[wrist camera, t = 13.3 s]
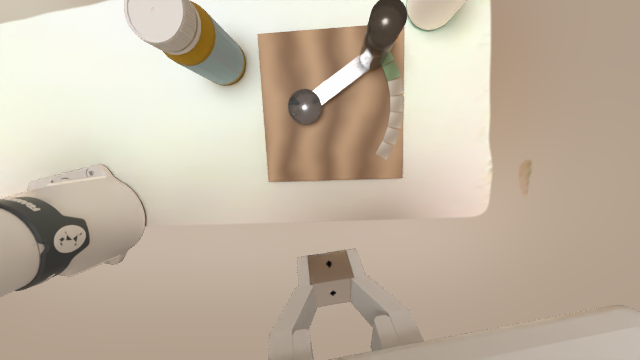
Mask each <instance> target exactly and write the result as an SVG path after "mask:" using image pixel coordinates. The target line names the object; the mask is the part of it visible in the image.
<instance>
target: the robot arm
mask: <svg viewBox="0 0 640 360" xmlns="http://www.w3.org/2000/svg"><path fill="white" fill-rule="evenodd" d="M144 228H145V213H144V209H143V206H142V204H141V202H140V200H139V198H138V197H137V195H136V194H135V193H134V192H133V190H132V189H130V188H129V187H128V186H127V185H126V184H124V183H123V182H121V181H119V180H118V179H116V178H115V177H114V176H113V175H112V174H111V172H110V171H109V170H108V169H107V168H106V167H105V166H104V165H94V166H90V167H86V168H82V169H79V170H75V171H71V172H67V173H63V174H59V175H55V176H52V177H48V178H44V179H40V180H36V181H33V182H31V183H30V184H29V186H28V189H27V191H26V192H22V193H19V194H15V195H11V196H8V197H5V198H4V199H0V297H2V296H4V295H6V294H8V293H11V292H13V291H20V290H24V289H27V288H29V287H31V286H35V285H38V284H40V283H43V282H45V281H47V280H48V279H50V278H51V277H54V276H56V275H61V276H68V277H70V276H74V275H77V274H79V273H81V272H84V271H86V270H88V269H90V268H93V267H95V266H98V265H100V264H102V263H107V264H112V265H114V264H117V263H120V262H121V261H122V260H123V259H124V257H125V255H126V253H127V251H128V250H129V249H130V248H131V247H133V246H134V245H135V244H136V243H137V242H138V241H139V240H140V238H141V236H142V234H143V231H144ZM297 269H298V270H297V271H298V287H297V288H295V290H294V291H293V293H292V295H291V297H290V299H289V300H288V302H287V304H286V306H285V308H284V310H283V311H282V313H281V315H280V316H279V318H278V320H277V322H276V323H275V325H274V327H273V329H272V331H271V332H270V335H269V354H268V360H314V357H313V352H312V345H311V340H310V334H309V331H308V330H309V327H310V325H311V322H312V320H313V317H314V315H315V312H316V309H317V307H322V306H327V305H332V304H338V303H345V302H351V303H352V304H353V306H354V307H355V308H356V309H357V310H358V311H359V312H360V314H361V315H362V316H363V317H364V318H365V319H366V320H367V322H368V323H369V324H370V325H371V326H372V327H373V332H372V341H371V350H372V351H371V352H366V353H361V354H355V355H350V356H345V357H340V358H334V359H329V360H640V311H638V310H636V309H633V308H630V307H628V306H624V305H611V306H606V307H601V308H596V309H591V310H585V311H580V312H575V313H570V314H564V315H559V316H555V317H549V318H544V319H538V320H533V321H528V322H523V323H517V324H512V325H507V326H502V327H497V328H492V329H486V330H481V331H476V332H470V333H465V334H460V335H455V336H449V337H444V338H439V339H434V340H429V341H424V340H423V338H422V336H421V334H420V332H419V330H418V327H417V326H416V323H415V321H414V319H413V317H412V314H411V312H410V310H409V309H408V308H407V307H405V306H404V305H403V304H402V303H401V302H400V301H398V300H397V299H396V298H395V297H394V296H392V295H391V294H390V293H389V292H387V291H386V290H385V289H384V288H383V287H382V286H380V285H379V284H378V283H377V282H376V281H374V280H373V279H372V278H371V277H370V276H366V275H365V273H364V270H363V267H362V264H361V261H360V258H359V255H358V253H357V250H356V249H349V250H341V251H335V252H329V253H325V254H316V255H309V256H301V257H297Z"/></svg>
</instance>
